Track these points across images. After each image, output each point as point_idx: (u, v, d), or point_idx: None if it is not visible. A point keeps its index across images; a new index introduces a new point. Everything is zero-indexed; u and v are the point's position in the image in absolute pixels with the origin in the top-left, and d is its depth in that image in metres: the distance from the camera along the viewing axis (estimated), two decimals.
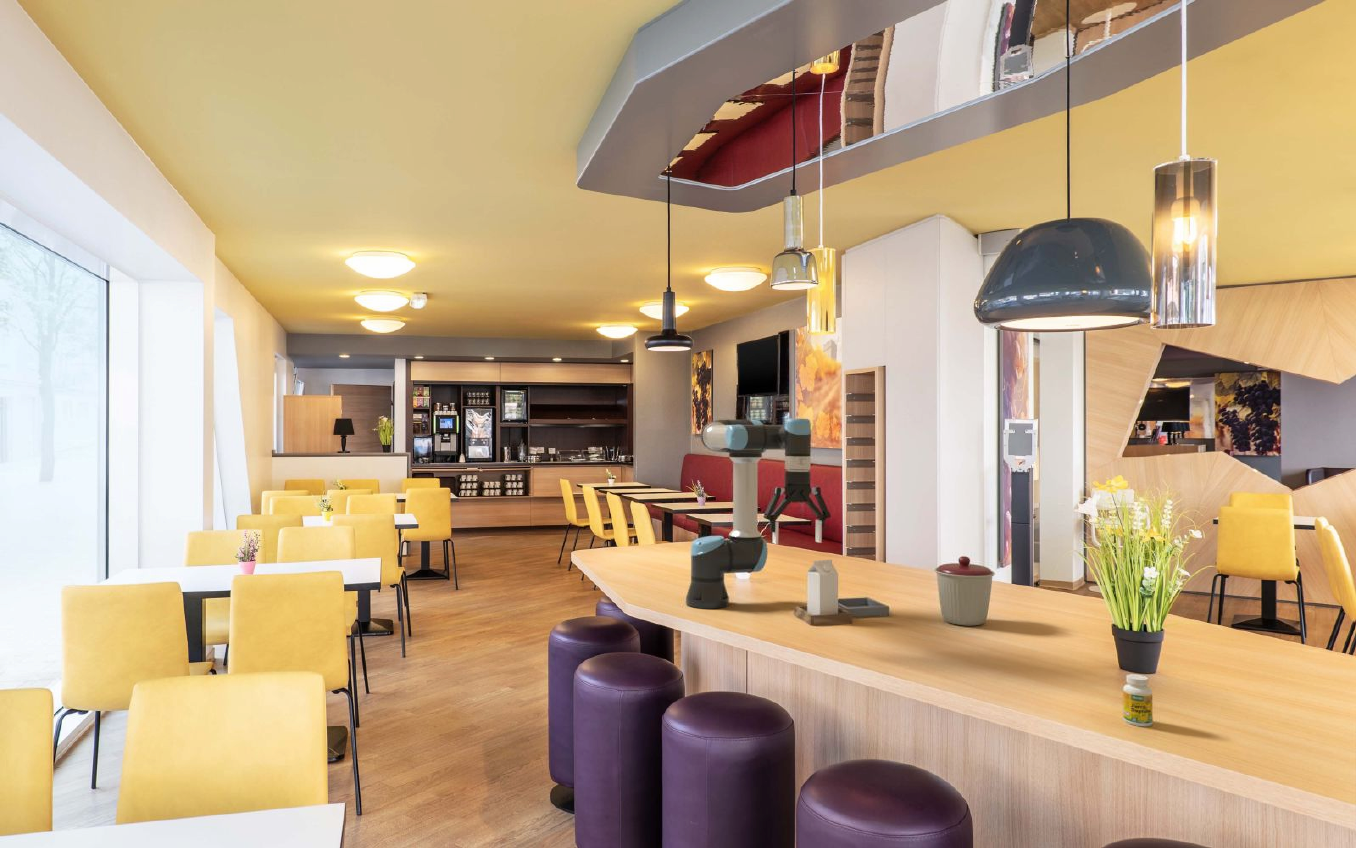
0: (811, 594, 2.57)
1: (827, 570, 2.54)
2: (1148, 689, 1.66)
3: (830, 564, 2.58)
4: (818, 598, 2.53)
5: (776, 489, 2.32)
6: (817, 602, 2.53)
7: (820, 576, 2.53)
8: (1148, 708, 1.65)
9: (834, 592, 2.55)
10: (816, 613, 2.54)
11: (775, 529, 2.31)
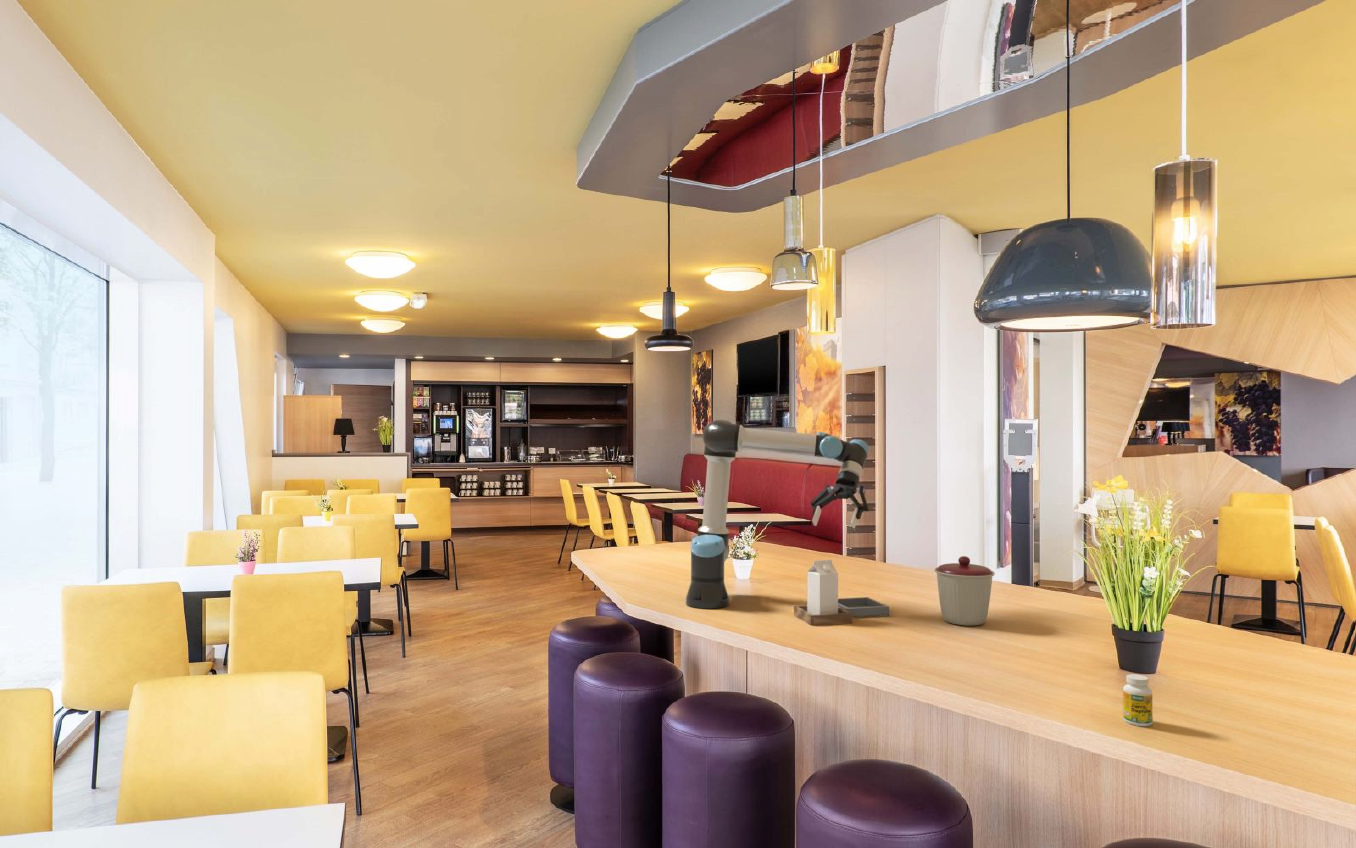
0: (811, 594, 2.57)
1: (827, 570, 2.54)
2: (1148, 689, 1.66)
3: (830, 564, 2.58)
4: (818, 598, 2.53)
5: (864, 490, 2.71)
6: (817, 602, 2.53)
7: (820, 576, 2.53)
8: (1148, 708, 1.65)
9: (834, 592, 2.55)
10: (816, 613, 2.54)
11: None
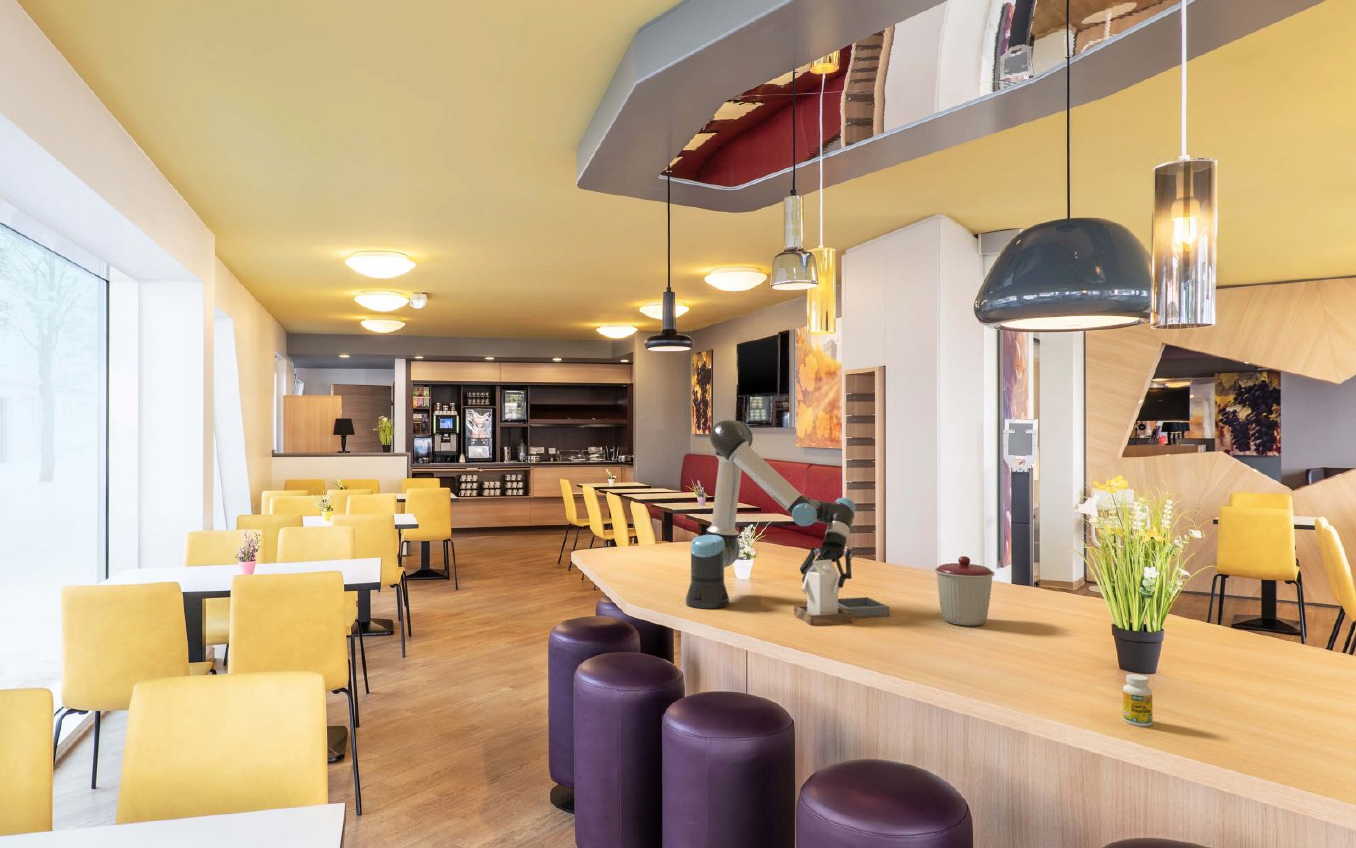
0: (811, 594, 2.57)
1: (827, 570, 2.54)
2: (1148, 689, 1.66)
3: (830, 564, 2.58)
4: (818, 598, 2.53)
5: (851, 555, 2.61)
6: (817, 602, 2.53)
7: (820, 576, 2.53)
8: (1147, 708, 1.65)
9: None
10: (816, 613, 2.54)
11: None
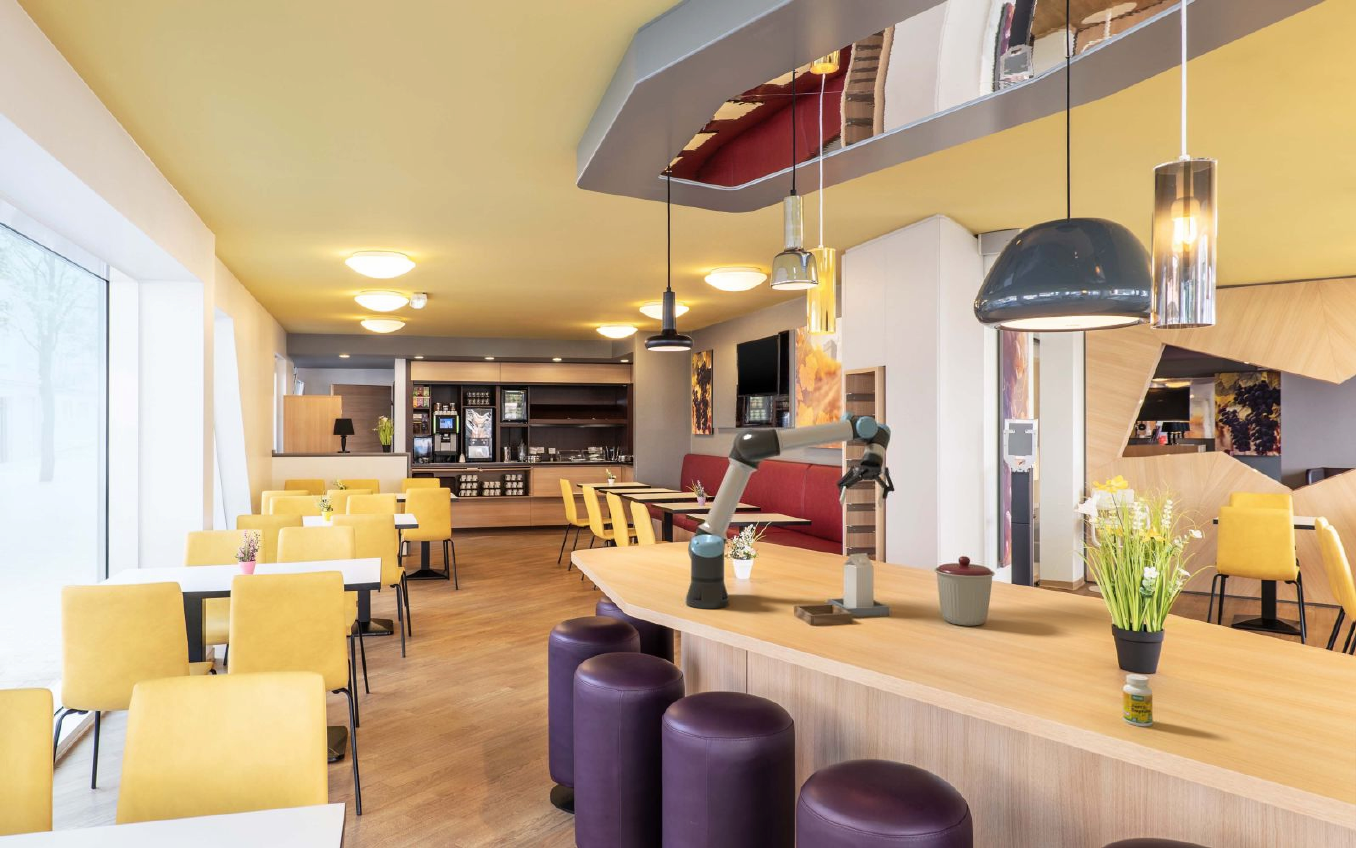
0: (847, 586, 2.67)
1: (863, 563, 2.65)
2: (1148, 689, 1.66)
3: (865, 557, 2.69)
4: (855, 589, 2.64)
5: None
6: (854, 593, 2.64)
7: (857, 569, 2.63)
8: (1148, 708, 1.65)
9: (870, 584, 2.65)
10: (853, 604, 2.65)
11: None
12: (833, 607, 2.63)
